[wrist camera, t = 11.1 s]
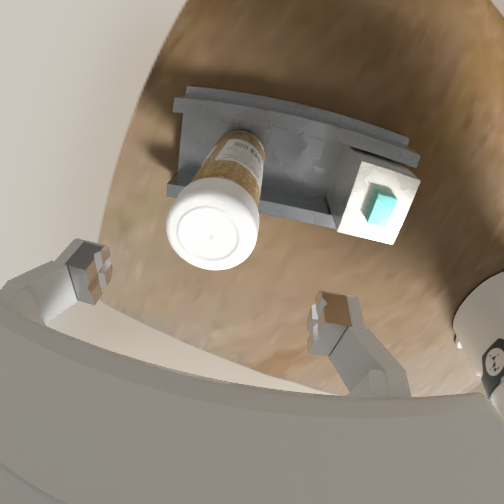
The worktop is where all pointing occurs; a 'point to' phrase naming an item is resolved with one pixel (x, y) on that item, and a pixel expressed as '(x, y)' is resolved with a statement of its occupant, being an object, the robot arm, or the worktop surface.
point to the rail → (306, 160)
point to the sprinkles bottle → (220, 205)
